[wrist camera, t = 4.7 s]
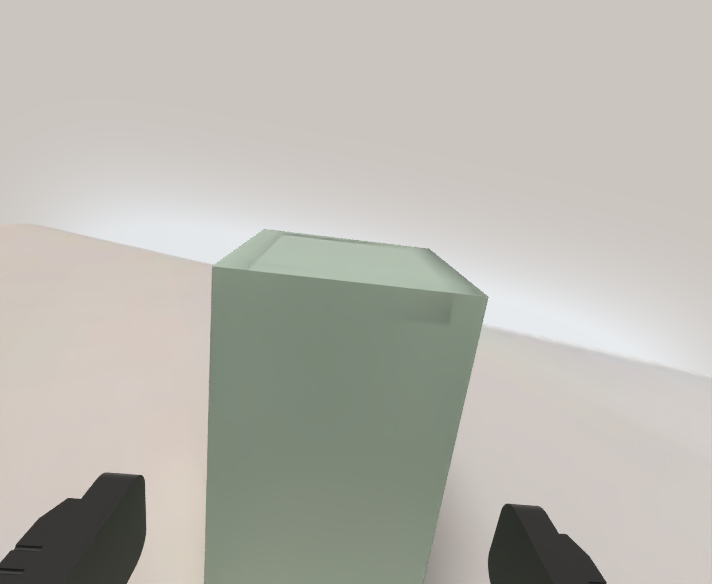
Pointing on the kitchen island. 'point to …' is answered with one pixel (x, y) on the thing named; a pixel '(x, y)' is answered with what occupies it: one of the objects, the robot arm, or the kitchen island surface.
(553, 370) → the kitchen island surface
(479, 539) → the kitchen island surface
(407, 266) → the tall sage green box
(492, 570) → the robot arm
